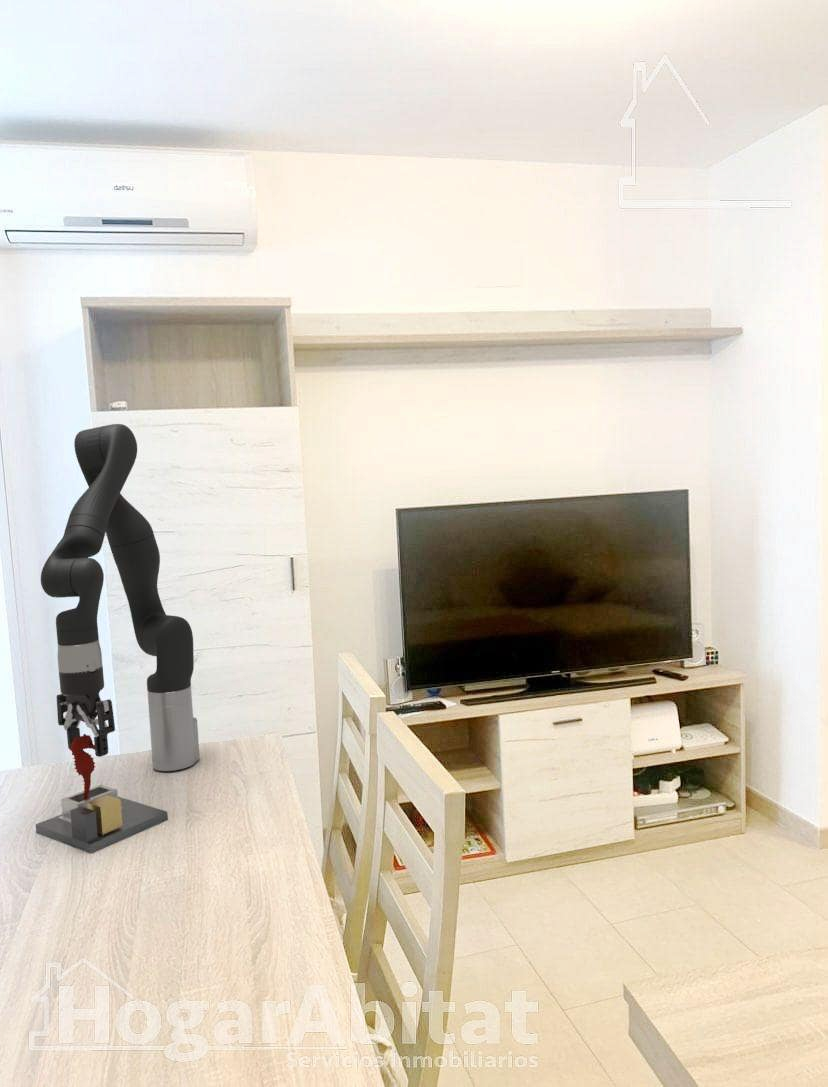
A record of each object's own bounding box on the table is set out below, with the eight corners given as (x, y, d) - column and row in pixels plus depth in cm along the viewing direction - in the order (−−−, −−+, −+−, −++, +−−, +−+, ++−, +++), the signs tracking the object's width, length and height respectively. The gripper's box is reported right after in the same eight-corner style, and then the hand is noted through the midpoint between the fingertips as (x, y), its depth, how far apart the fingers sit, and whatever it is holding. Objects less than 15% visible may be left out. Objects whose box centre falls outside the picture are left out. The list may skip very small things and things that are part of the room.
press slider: (109, 821, 147) (107, 795, 147) (122, 826, 145) (120, 799, 145) (89, 830, 144) (87, 802, 144) (102, 834, 142) (100, 807, 142)
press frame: (113, 802, 162) (110, 770, 161) (167, 819, 152) (165, 785, 151) (36, 832, 149) (33, 797, 148) (90, 853, 139) (87, 816, 138)
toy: (106, 810, 153) (100, 732, 151) (76, 818, 150) (69, 738, 149) (104, 806, 155) (98, 729, 154) (74, 813, 152) (67, 735, 151)
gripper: (39, 667, 151) (47, 752, 152) (85, 674, 143) (93, 764, 144) (76, 658, 157) (83, 740, 159) (122, 665, 149) (129, 751, 150)
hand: (88, 751), depth 151 cm, fingers open, 8 cm apart
